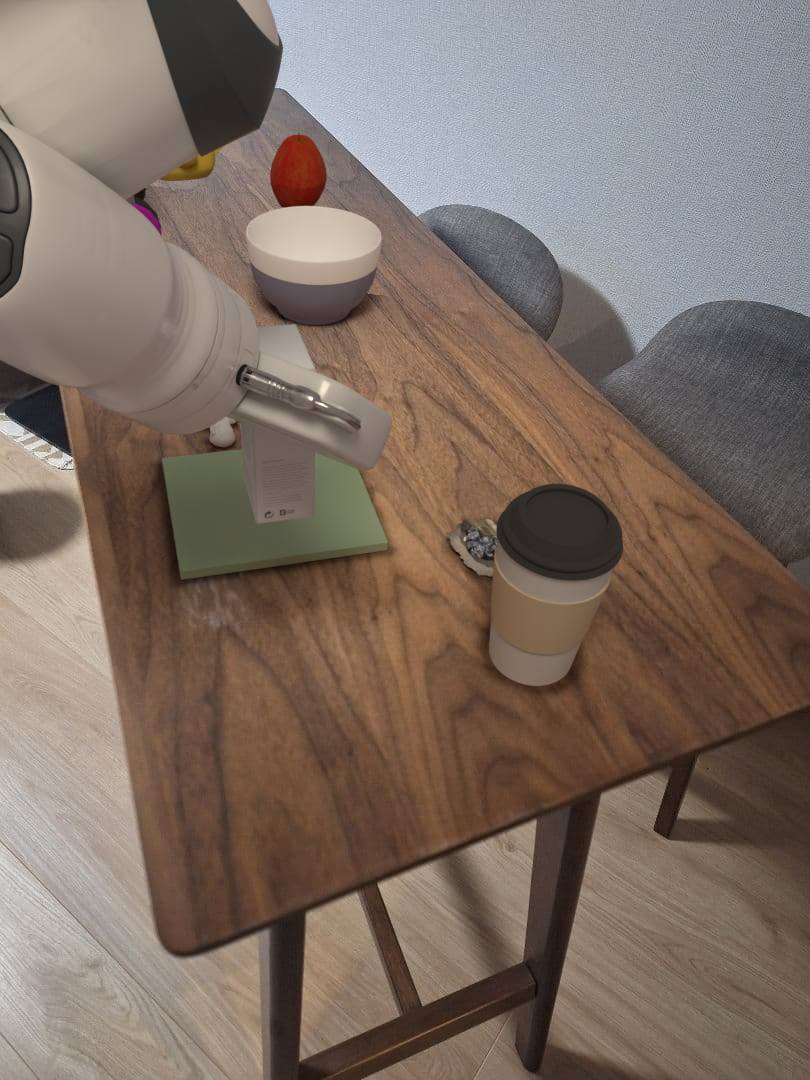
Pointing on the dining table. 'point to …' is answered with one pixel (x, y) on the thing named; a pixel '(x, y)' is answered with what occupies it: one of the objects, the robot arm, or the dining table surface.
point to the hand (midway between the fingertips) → (280, 414)
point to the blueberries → (476, 544)
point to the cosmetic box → (279, 447)
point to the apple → (298, 172)
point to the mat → (241, 544)
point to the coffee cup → (549, 579)
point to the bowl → (313, 261)
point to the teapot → (193, 168)
